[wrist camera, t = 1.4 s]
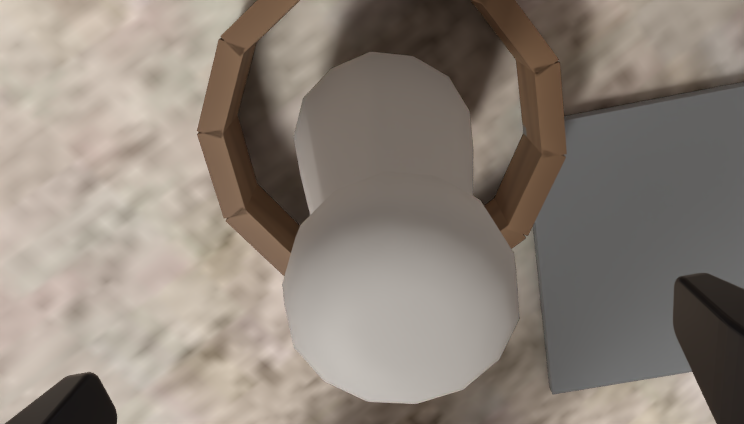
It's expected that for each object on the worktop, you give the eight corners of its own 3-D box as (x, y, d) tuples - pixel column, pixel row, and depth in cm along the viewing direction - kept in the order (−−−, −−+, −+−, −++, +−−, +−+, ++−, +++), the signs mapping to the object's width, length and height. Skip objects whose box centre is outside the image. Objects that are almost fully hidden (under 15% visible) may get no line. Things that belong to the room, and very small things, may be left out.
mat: (831, 340, 26) (839, 347, 26) (549, 386, 27) (552, 394, 26) (865, 58, 21) (876, 61, 21) (522, 124, 22) (526, 127, 22)
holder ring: (554, 237, 24) (575, 268, 22) (267, 289, 25) (257, 324, 22) (526, -86, 19) (548, -90, 17) (176, -11, 20) (152, -6, 18)
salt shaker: (268, 101, 22) (153, 285, 10) (404, 6, 21) (461, 84, 9) (361, 225, 24) (360, 506, 12) (490, 145, 22) (635, 366, 10)
